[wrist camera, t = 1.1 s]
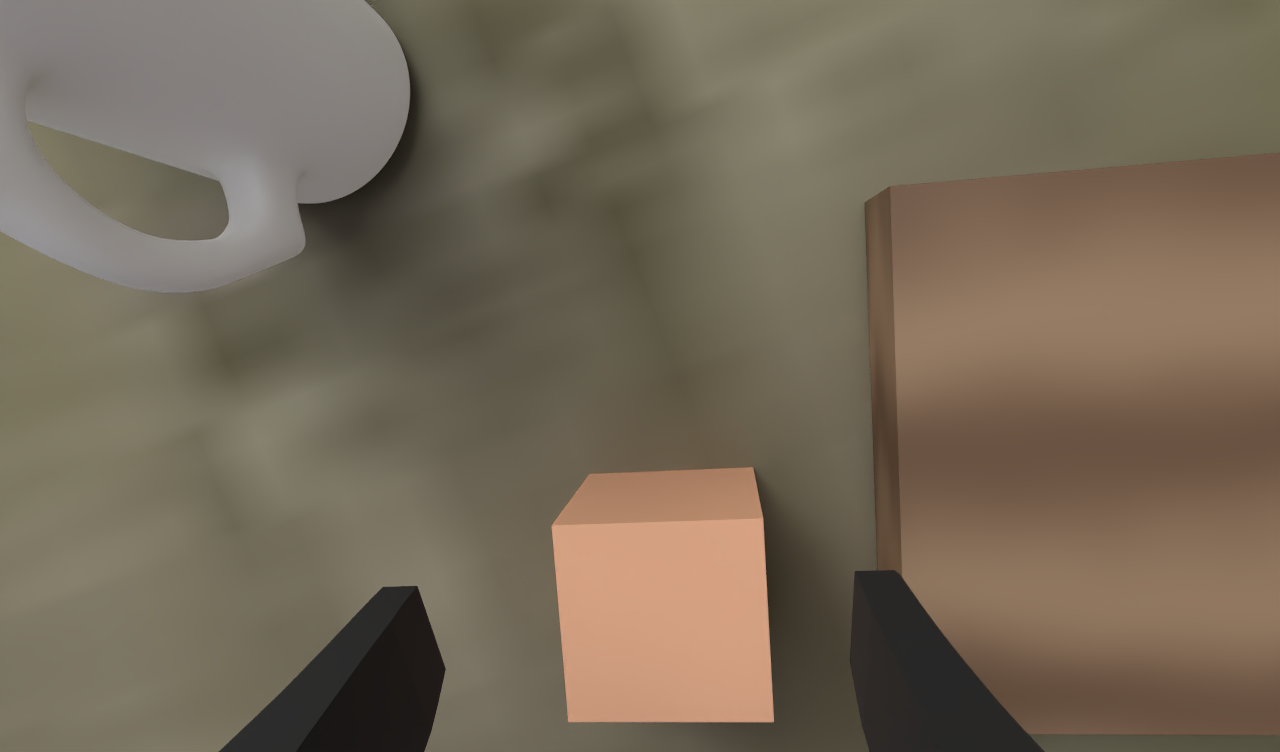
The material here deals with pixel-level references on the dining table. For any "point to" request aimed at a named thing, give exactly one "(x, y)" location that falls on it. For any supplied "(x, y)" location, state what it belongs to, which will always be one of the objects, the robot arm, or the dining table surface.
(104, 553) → the dining table surface
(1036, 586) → the walnut base
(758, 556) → the terracotta cube
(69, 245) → the mug
